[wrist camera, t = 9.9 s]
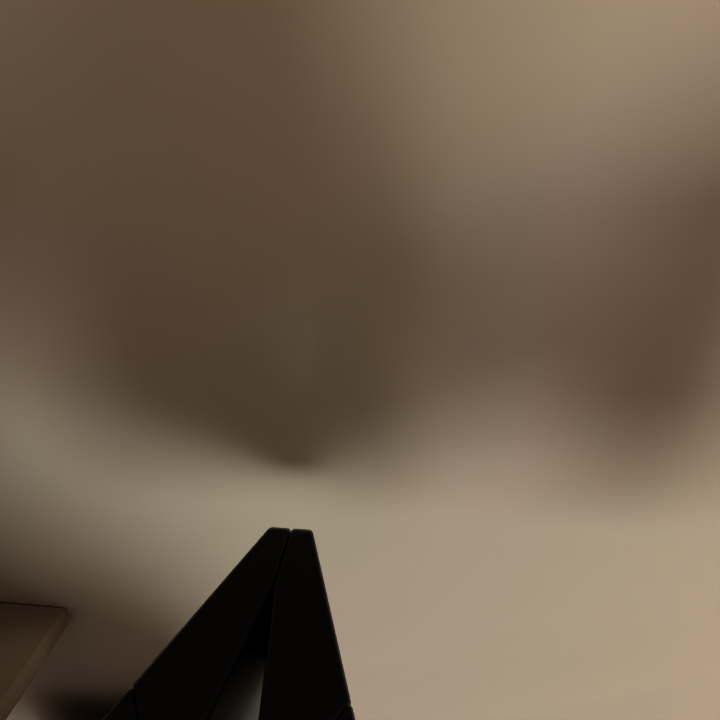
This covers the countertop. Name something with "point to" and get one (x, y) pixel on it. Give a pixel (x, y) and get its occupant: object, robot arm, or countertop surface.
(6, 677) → the wooden bracket
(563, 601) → the countertop surface
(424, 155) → the countertop surface
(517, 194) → the countertop surface
